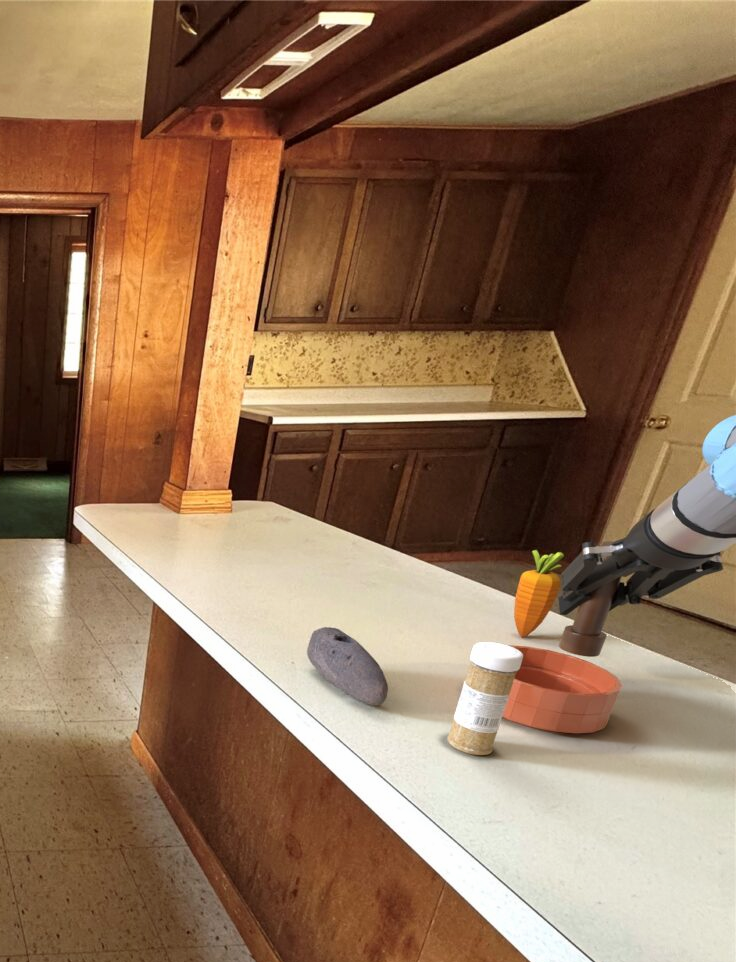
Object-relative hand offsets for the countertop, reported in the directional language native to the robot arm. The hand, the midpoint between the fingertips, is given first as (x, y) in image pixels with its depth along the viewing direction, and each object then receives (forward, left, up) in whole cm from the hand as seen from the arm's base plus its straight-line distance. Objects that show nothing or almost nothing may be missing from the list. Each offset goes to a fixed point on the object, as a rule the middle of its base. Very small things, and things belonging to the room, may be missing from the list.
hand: (578, 607), depth 97 cm
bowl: (+5, +18, -9) cm, 21 cm away
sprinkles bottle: (+13, +33, -9) cm, 37 cm away
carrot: (+3, -9, -9) cm, 14 cm away
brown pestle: (-1, +4, -5) cm, 6 cm away
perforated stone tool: (+27, +24, -9) cm, 37 cm away
